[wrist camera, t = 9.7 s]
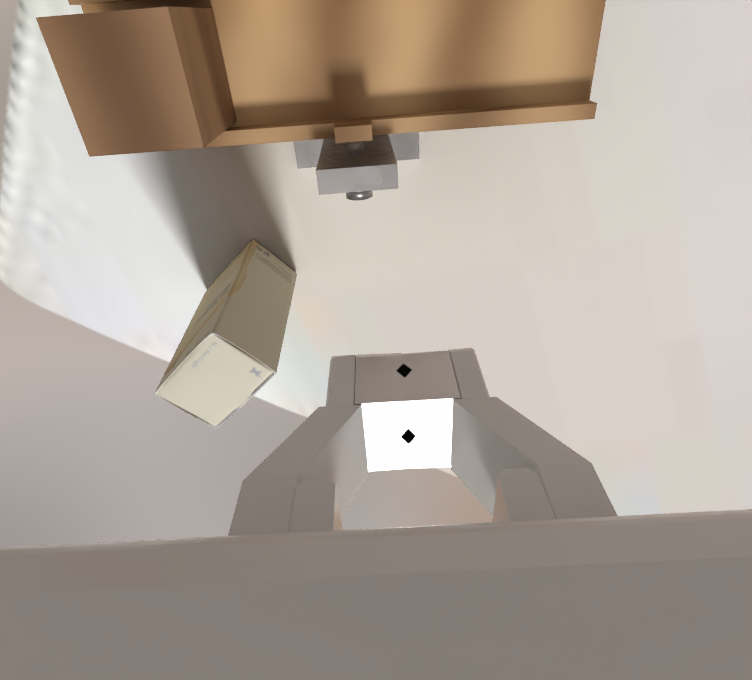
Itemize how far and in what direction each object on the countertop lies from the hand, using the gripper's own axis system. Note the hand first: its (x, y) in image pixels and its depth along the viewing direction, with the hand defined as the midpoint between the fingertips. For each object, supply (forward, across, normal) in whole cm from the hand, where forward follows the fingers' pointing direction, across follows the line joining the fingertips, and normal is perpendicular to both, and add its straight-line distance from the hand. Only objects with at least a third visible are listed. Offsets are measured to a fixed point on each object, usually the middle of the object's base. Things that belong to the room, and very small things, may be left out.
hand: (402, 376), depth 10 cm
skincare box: (+25, +10, +10) cm, 29 cm away
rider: (+19, +10, -5) cm, 22 cm away
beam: (+23, +1, -5) cm, 23 cm away
